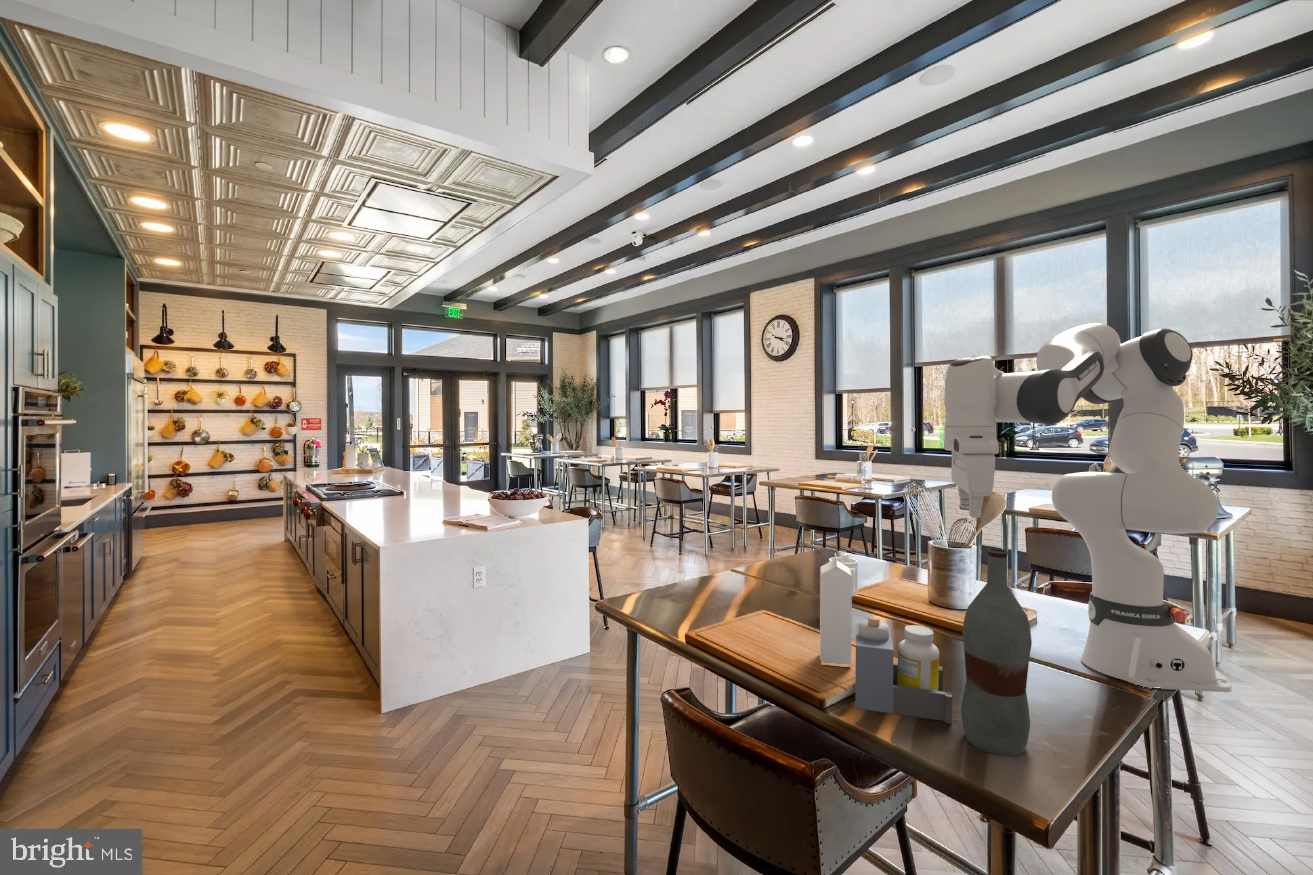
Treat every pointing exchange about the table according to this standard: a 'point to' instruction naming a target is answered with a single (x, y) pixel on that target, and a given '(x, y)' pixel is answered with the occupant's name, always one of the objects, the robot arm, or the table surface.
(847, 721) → the table surface
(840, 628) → the milk
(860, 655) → the grey bottle caddy
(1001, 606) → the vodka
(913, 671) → the supplement bottle
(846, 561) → the white container
